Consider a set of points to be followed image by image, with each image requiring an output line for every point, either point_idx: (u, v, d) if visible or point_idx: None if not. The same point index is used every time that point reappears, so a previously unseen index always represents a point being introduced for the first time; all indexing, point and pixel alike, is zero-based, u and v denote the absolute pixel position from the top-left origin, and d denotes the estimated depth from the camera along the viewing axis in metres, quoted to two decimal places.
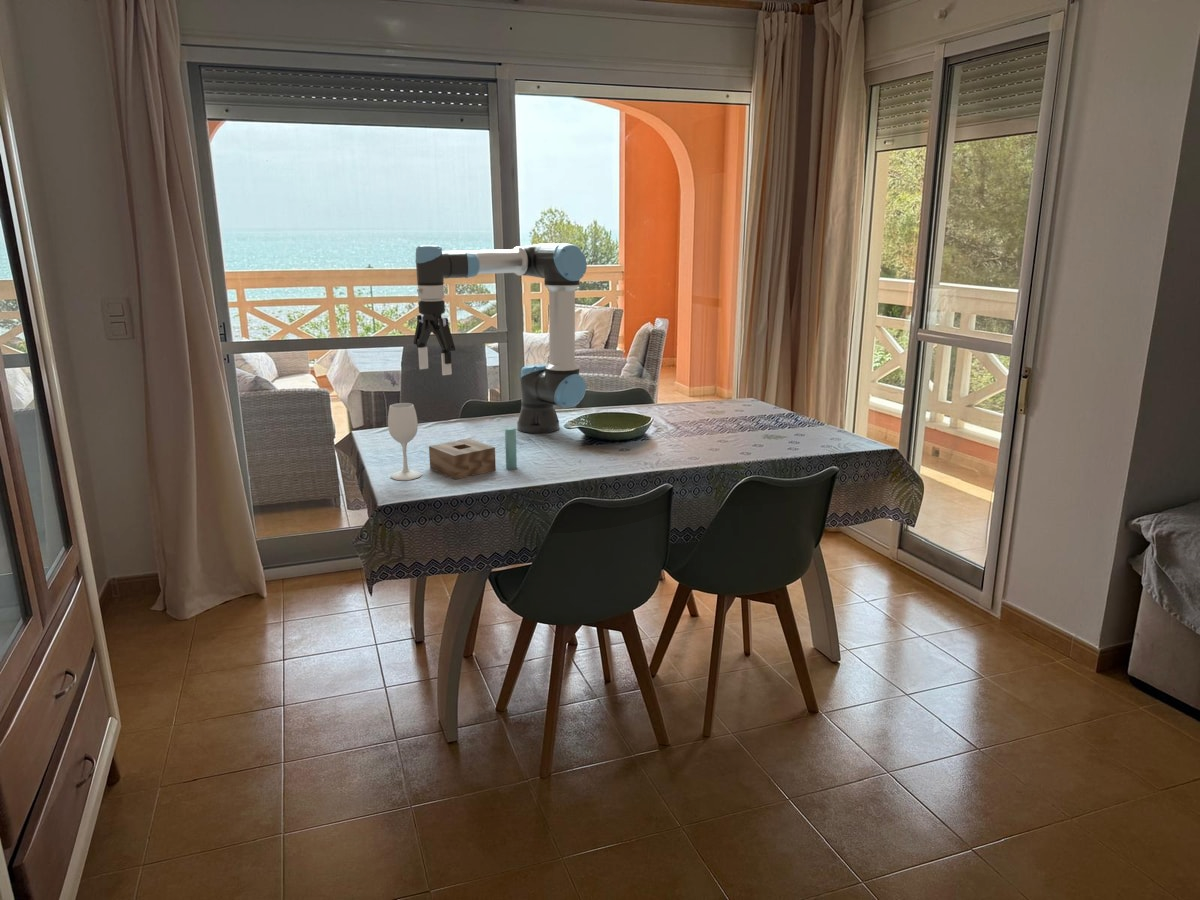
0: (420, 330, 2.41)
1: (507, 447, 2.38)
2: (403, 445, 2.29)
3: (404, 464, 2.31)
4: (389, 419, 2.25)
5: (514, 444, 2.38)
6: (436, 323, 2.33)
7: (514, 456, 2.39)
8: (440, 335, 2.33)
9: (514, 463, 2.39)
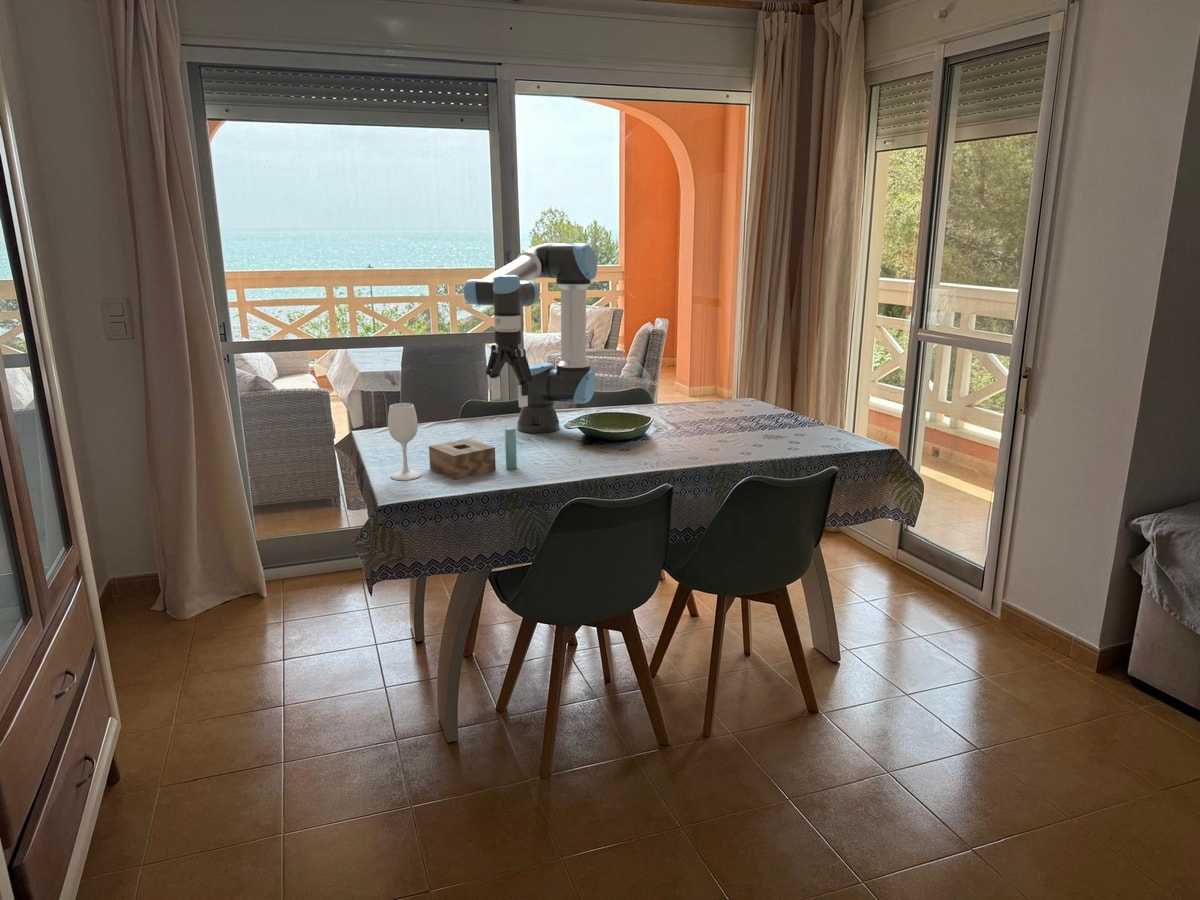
0: (493, 360, 2.37)
1: (507, 447, 2.38)
2: (403, 445, 2.29)
3: (404, 464, 2.31)
4: (389, 419, 2.25)
5: (514, 444, 2.38)
6: (513, 354, 2.28)
7: (514, 456, 2.39)
8: (517, 366, 2.28)
9: (514, 463, 2.39)
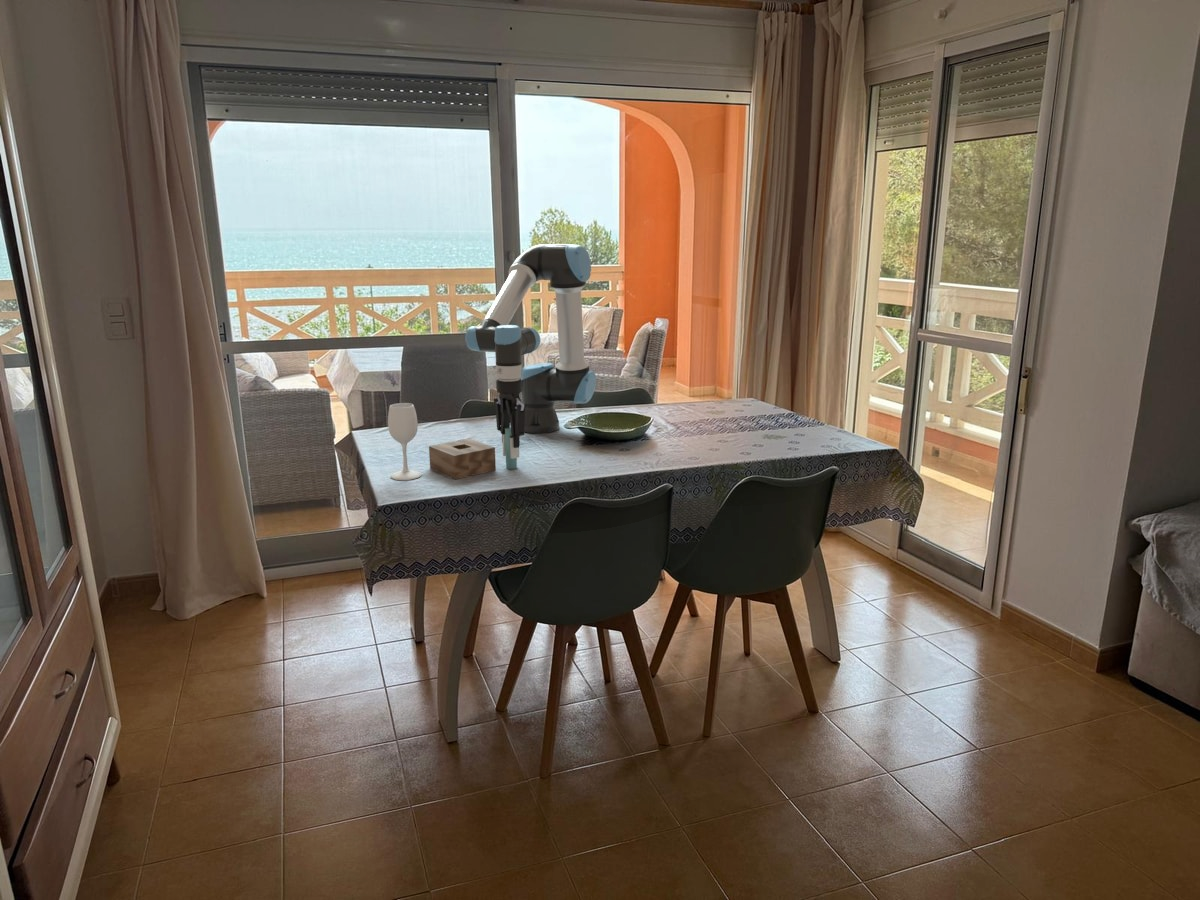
0: (500, 413, 2.39)
1: (507, 446, 2.38)
2: (403, 445, 2.29)
3: (404, 464, 2.31)
4: (389, 419, 2.25)
5: None
6: (513, 403, 2.32)
7: None
8: (514, 418, 2.34)
9: (514, 463, 2.39)
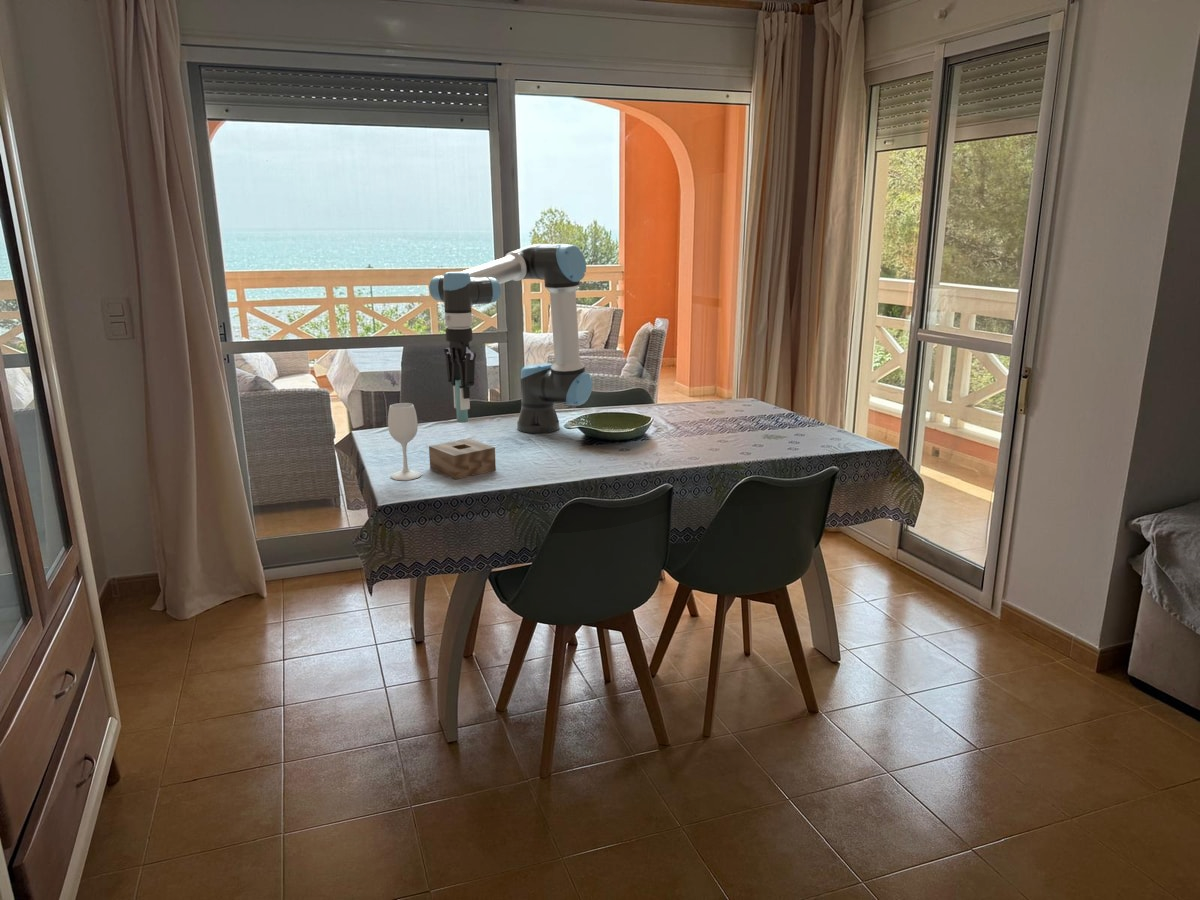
0: (451, 364, 2.33)
1: (457, 399, 2.32)
2: (403, 445, 2.29)
3: (404, 464, 2.31)
4: (389, 419, 2.25)
5: None
6: (463, 352, 2.26)
7: None
8: (463, 368, 2.28)
9: (465, 416, 2.33)
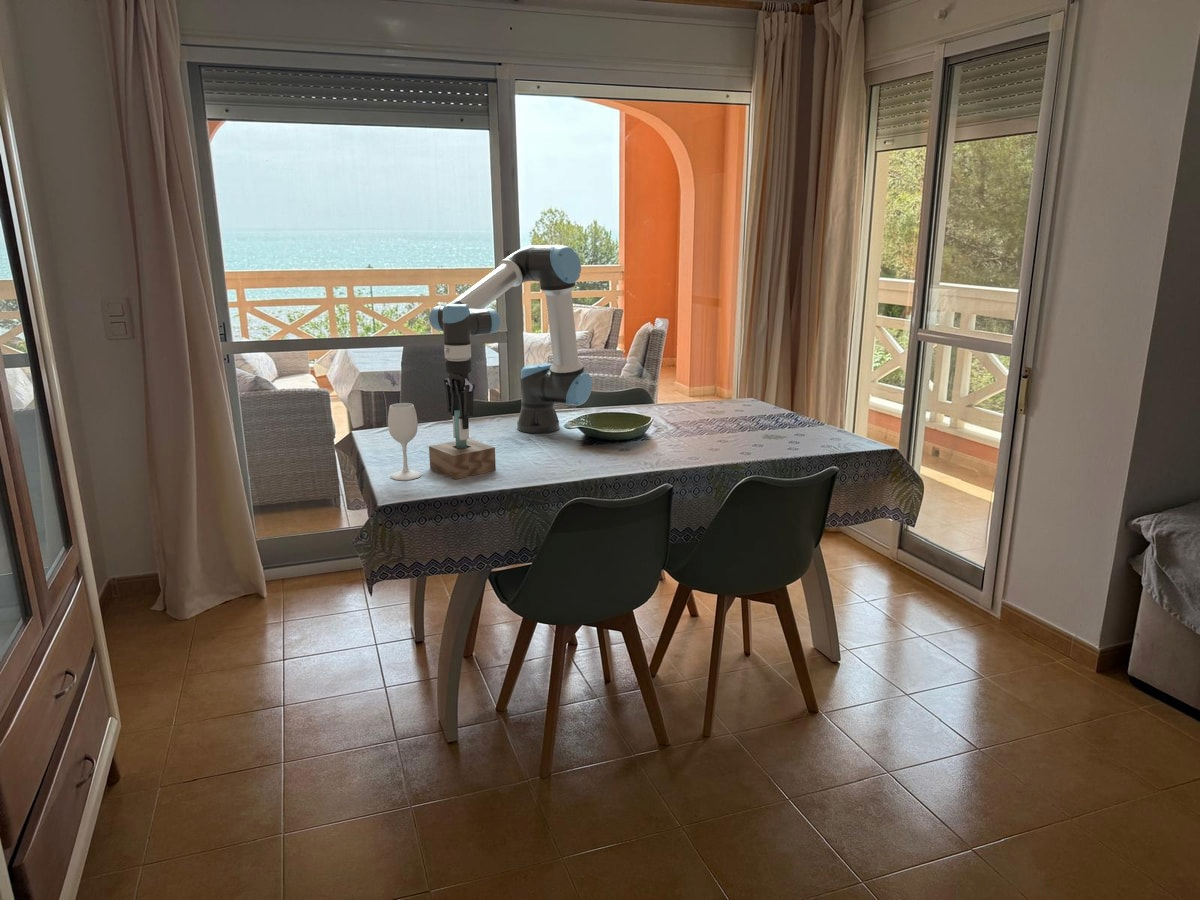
0: (450, 394, 2.36)
1: (456, 429, 2.34)
2: (403, 445, 2.29)
3: (404, 464, 2.31)
4: (389, 419, 2.25)
5: None
6: (462, 384, 2.29)
7: None
8: (462, 399, 2.31)
9: (464, 446, 2.36)
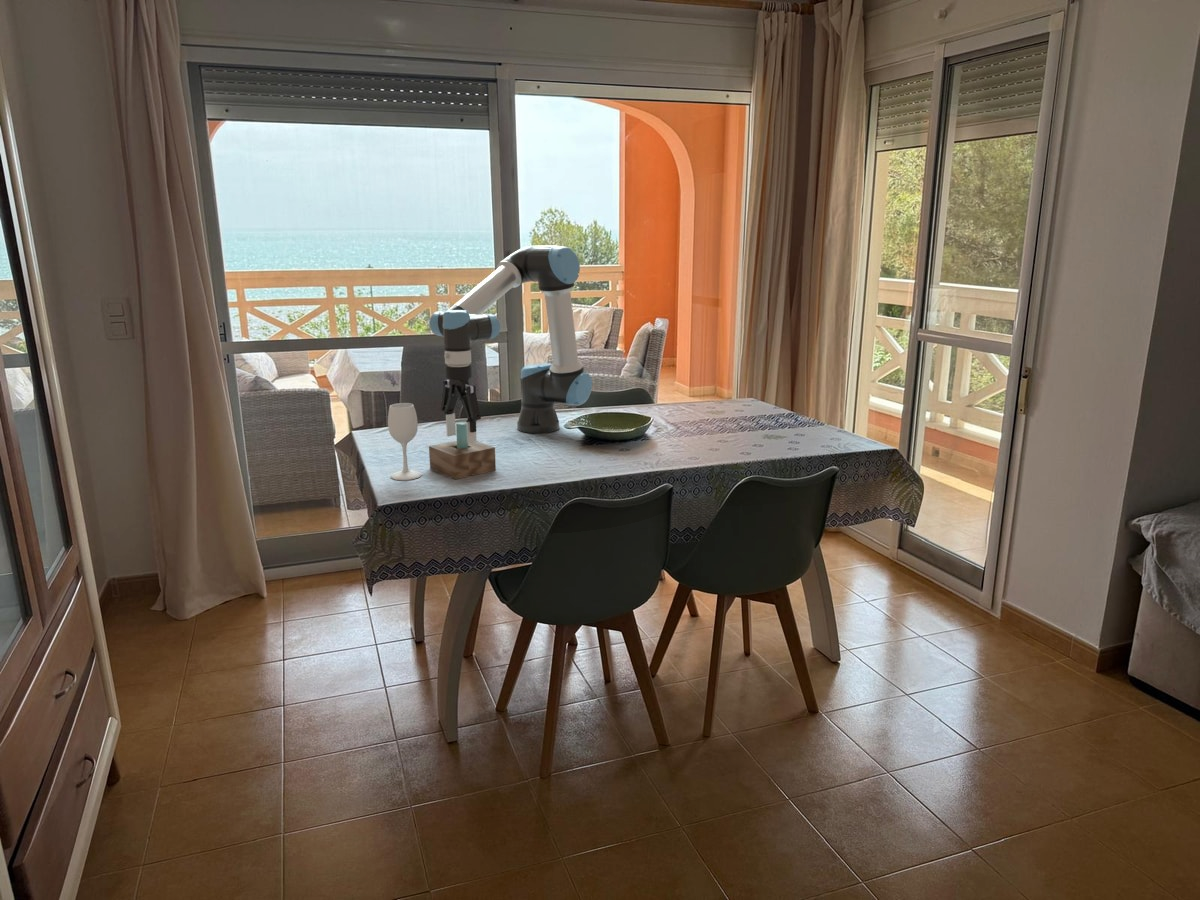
0: (447, 395, 2.37)
1: (458, 442, 2.35)
2: (403, 445, 2.29)
3: (404, 464, 2.31)
4: (389, 419, 2.25)
5: (465, 440, 2.35)
6: (463, 389, 2.29)
7: None
8: (466, 402, 2.30)
9: None
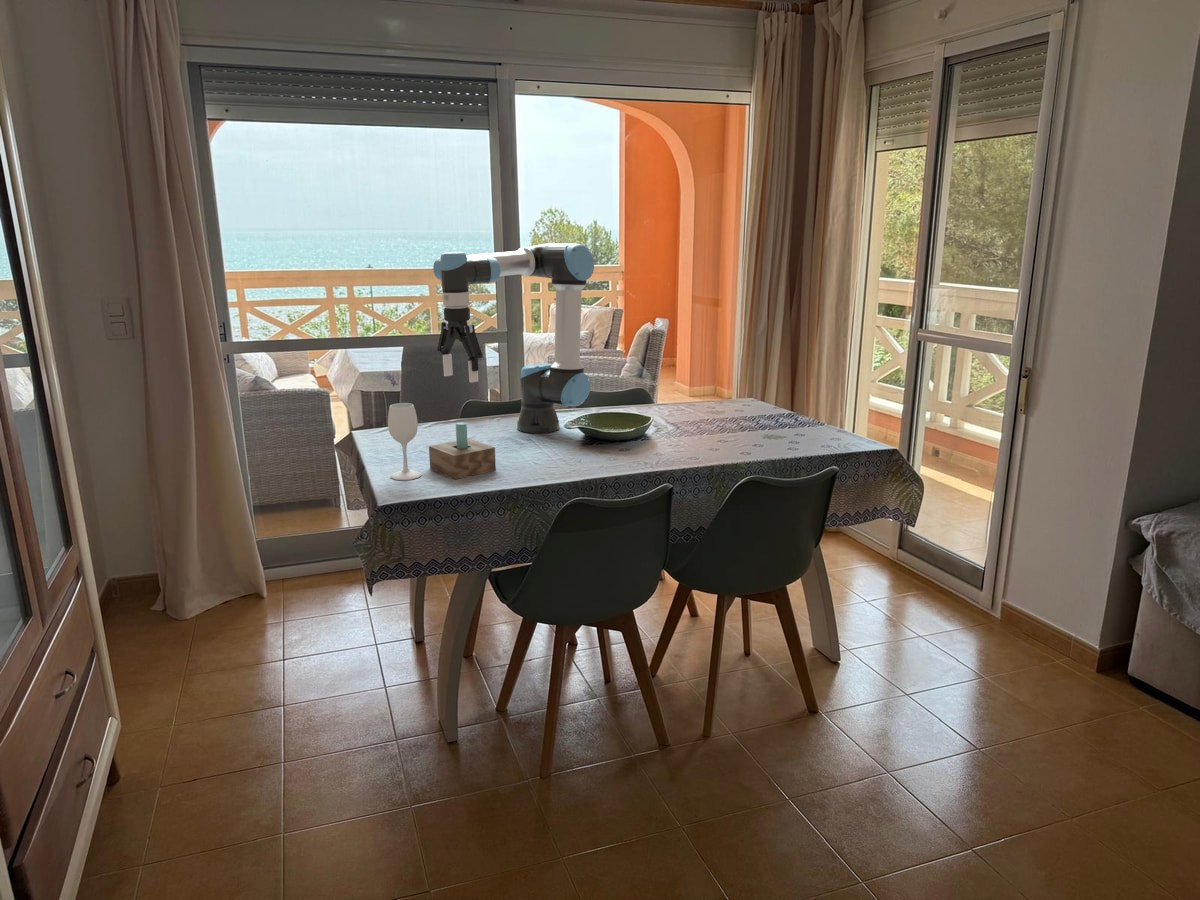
0: (444, 337, 2.40)
1: (457, 442, 2.35)
2: (403, 445, 2.29)
3: (404, 464, 2.31)
4: (389, 419, 2.25)
5: (465, 440, 2.35)
6: (462, 330, 2.31)
7: None
8: (466, 342, 2.32)
9: None
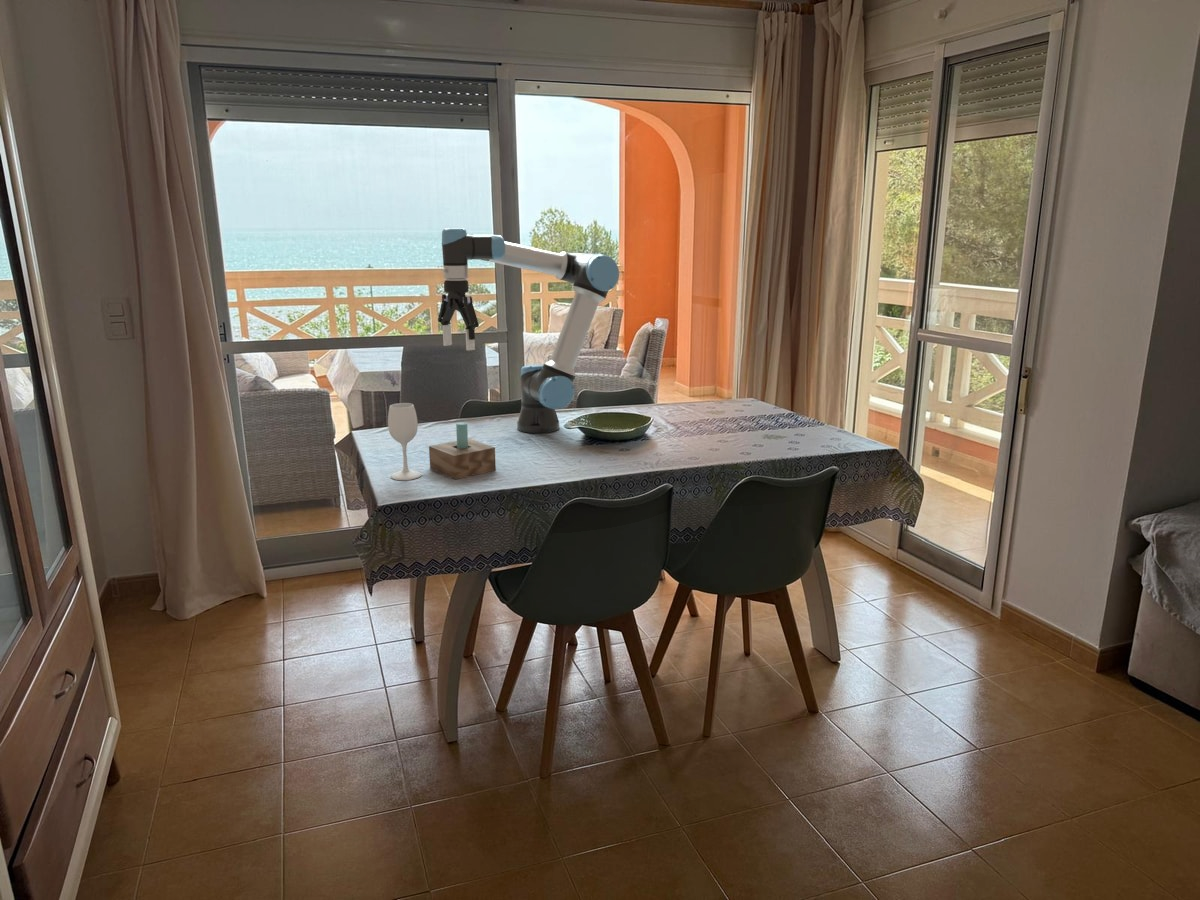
0: (444, 308, 2.57)
1: (458, 442, 2.35)
2: (403, 445, 2.29)
3: (404, 464, 2.31)
4: (389, 419, 2.25)
5: (465, 440, 2.35)
6: (460, 301, 2.48)
7: None
8: (464, 312, 2.48)
9: None
